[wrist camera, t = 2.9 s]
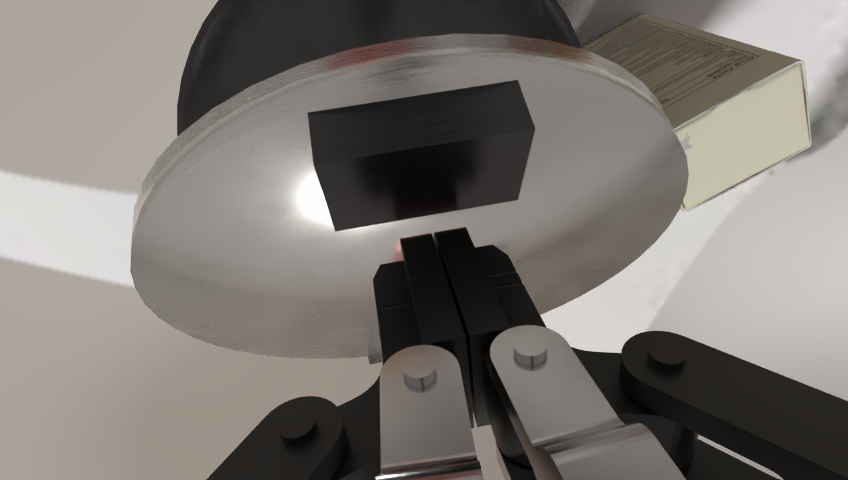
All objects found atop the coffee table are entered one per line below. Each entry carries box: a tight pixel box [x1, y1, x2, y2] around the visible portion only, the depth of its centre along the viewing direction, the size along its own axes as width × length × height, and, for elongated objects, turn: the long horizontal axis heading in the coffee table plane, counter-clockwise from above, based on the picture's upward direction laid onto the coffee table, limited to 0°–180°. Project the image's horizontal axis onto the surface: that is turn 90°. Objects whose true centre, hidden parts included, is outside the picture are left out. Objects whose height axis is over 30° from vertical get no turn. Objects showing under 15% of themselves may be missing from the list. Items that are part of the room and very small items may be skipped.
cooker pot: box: [177, 0, 581, 136], centre depth 26 cm, size 15×15×12 cm
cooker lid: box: [130, 34, 689, 364], centre depth 17 cm, size 17×16×3 cm
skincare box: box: [581, 14, 811, 212], centre depth 28 cm, size 6×4×12 cm
